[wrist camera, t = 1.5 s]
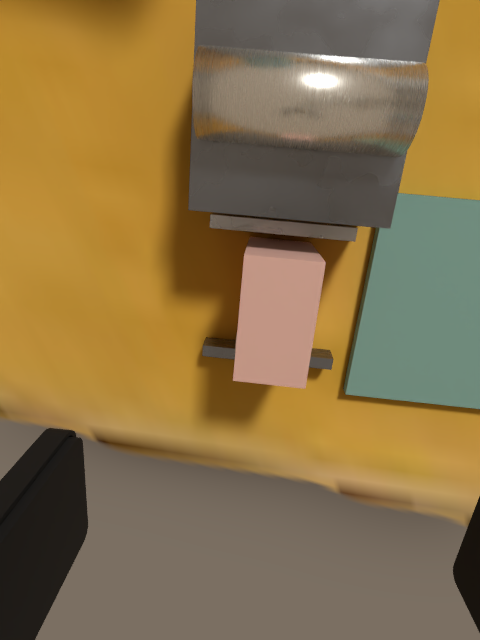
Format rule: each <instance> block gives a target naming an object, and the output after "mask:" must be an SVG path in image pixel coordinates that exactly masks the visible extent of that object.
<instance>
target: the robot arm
mask: <svg viewBox="0 0 480 640" xmlns="http://www.w3.org/2000/svg"><path fill="white" fill-rule="evenodd" d="M85 486H86V485H85V469H84V455H83V441H82V439H81V438H77V437H76V433H75V432H74V431H72V430H63V429H54V428H49V429H46V430H45V431H44V432H43V433H42V434H41V435H40V437H39V438H38V439H37V440H36V441H35V442H34V443H33V444H32V446H31V447H30V448H29V449H28V450H27V451H26V452H25V453H24V455H23V456H22V457H21V458H20V459H19V460H18V461H17V462H16V464H15V465H14V466H13V467H12V468H11V469H10V470H9V471H8V473H7V474H6V475H5V476H4V477H3V478H2V479H1V481H0V640H35V638H36V636H37V634H38V632H39V630H40V628H41V626H42V624H43V622H44V620H45V618H46V616H47V614H48V612H49V610H50V608H51V606H52V604H53V602H54V600H55V598H56V596H57V594H58V592H59V590H60V588H61V586H62V584H63V582H64V580H65V578H66V576H67V574H68V572H69V570H70V568H71V566H72V564H73V562H74V560H75V558H76V556H77V554H78V552H79V550H80V548H81V546H82V544H83V542H84V540H85V537H86V534H87V529H88V516H87V501H86V487H85ZM453 575H454V579H455V583H456V585H457V587H458V589H459V591H460V593H461V595H462V597H463V599H464V601H465V604H466V605H467V608H468V610H469V611H470V614H471V616H472V618H473V620H474V622H475V624H476V626H477V628H478V630H479V632H480V497H479V499H478V502H477V505H476V507H475V510H474V512H473V515H472V518H471V520H470V523H469V526H468V528H467V531H466V534H465V536H464V539H463V542H462V544H461V547H460V550H459V553H458V555H457V558H456V560H455V563H454V566H453Z"/></svg>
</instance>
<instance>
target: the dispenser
mask: <svg viewBox="0 0 480 640" xmlns="http://www.w3.org/2000/svg"><path fill="white" fill-rule="evenodd" d="M438 5H439V0H196V22H195V49H194V70H193V86H192V129H191V156H190V182H189V209H188V210H194V211H204V212H215V213H212V214H210V228H217V229H228V230H238V231H249V232H259V233H270V234H281V235H291V236H302V237H312V238H323V239H333V240H344V241H354V242H355V240H356V234H357V229H358V228H356V227H354V226H365V227H376V228H386V229H390V228H391V223H392V219H393V214H394V209H395V205H396V200H397V195H398V191H399V186H400V181H401V177H402V172H403V168H404V163H405V158H406V154H407V150H408V148H409V147H410V145H411V143H412V141H413V139H414V137H415V134H416V132H417V129H418V127H419V124H420V121H421V118H422V114H423V110H424V106H425V102H426V97H427V90H428V69H427V66H426V60H427V56H428V51H429V47H430V42H431V37H432V33H433V28H434V23H435V19H436V14H437V9H438ZM221 213H226V214H221ZM232 214H237V215H232ZM243 215H247V216H243ZM253 216H258V217H253ZM264 217H269V218H264ZM275 218H279V219H275ZM286 219H290V220H286ZM296 220H301V221H296ZM307 221H312V222H307ZM318 222H322V223H318ZM328 223H333V224H328ZM339 224H344V225H339ZM350 225H354V226H350ZM235 346H236V340H227V339H218V338H208V337H206V339H205V342H204V344H203V355H202V356H208V357H217V358H227V359H235ZM332 363H333V357H332V354H331V352H330V350H323V349H313V348H312V351H311V357H310V363H309V367H311V368H321V369H330V370H331V369H332Z"/></svg>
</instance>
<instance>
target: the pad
mask: <svg viewBox="0 0 480 640" xmlns="http://www.w3.org/2000/svg"><path fill="white" fill-rule="evenodd" d="M343 389H344V392H345V394H346V395H355V396H365V397H374V398H383V399H392V400H401V401H411V402H420V403H429V404H438V405H447V406H457V407H466V408H475V409H480V201H479V200H468V199H457V198H446V197H435V196H424V195H413V194H402V193H398V195H397V200H396V205H395V209H394V214H393V219H392V223H391V228H390V229H386V228H376V230H375V235H374V240H373V245H372V250H371V255H370V260H369V265H368V270H367V275H366V280H365V284H364V289H363V294H362V299H361V304H360V309H359V314H358V319H357V324H356V329H355V334H354V339H353V344H352V349H351V354H350V359H349V364H348V369H347V374H346V378H345V383H344V388H343Z"/></svg>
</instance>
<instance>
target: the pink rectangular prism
mask: <svg viewBox="0 0 480 640" xmlns="http://www.w3.org/2000/svg"><path fill="white" fill-rule="evenodd" d="M325 265H326V262H325V261H324V259H323V258H322V257H321V255H320V254H319V253H318V252H317V250H316V249H315V248H314V246H313V245H312V244H311V242H302V241H292V240H281V239H271V238H260V237H250V238H249V241H248V244H247V247H246V250H245V253H244V262H243V273H242V284H241V295H240V307H239V318H238V329H237V335H236V346H235V363H234V374H233V381H240V382H249V383H258V384H268V385H277V386H286V387H295V388H306V381H307V375H308V369H309V363H310V357H311V351H312V345H313V338H314V332H315V326H316V320H317V314H318V308H319V302H320V295H321V289H322V283H323V277H324V271H325Z"/></svg>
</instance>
